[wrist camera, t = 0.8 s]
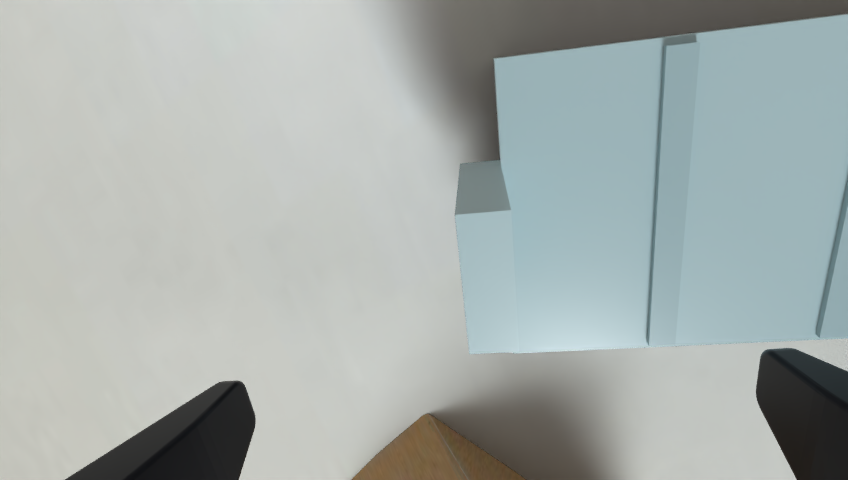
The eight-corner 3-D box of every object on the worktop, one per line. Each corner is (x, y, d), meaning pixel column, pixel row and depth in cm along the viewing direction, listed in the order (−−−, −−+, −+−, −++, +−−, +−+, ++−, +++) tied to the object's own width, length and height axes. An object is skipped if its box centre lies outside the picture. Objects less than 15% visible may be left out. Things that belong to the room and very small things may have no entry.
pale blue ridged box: (1095, -18, 12) (1463, -53, 7) (978, 318, 15) (1181, 430, 11) (450, 63, 14) (439, 74, 9) (477, 343, 17) (478, 445, 13)
